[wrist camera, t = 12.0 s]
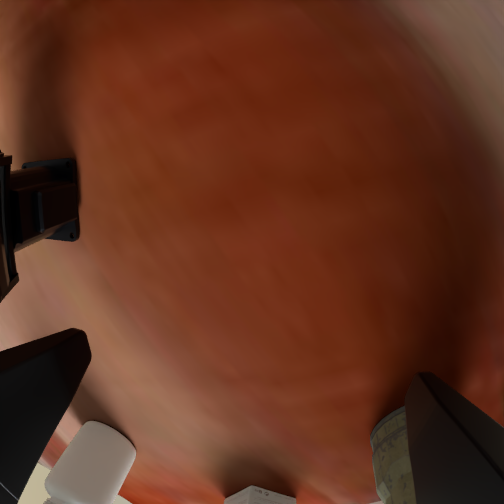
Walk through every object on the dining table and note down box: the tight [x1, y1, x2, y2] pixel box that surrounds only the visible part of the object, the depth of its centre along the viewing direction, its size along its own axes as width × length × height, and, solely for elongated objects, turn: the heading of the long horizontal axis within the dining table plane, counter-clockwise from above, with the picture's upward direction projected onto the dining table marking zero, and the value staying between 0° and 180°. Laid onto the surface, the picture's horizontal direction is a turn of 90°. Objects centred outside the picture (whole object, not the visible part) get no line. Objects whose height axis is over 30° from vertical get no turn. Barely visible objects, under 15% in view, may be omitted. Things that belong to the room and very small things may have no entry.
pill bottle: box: [43, 421, 136, 504], centre depth 23 cm, size 8×8×15 cm
